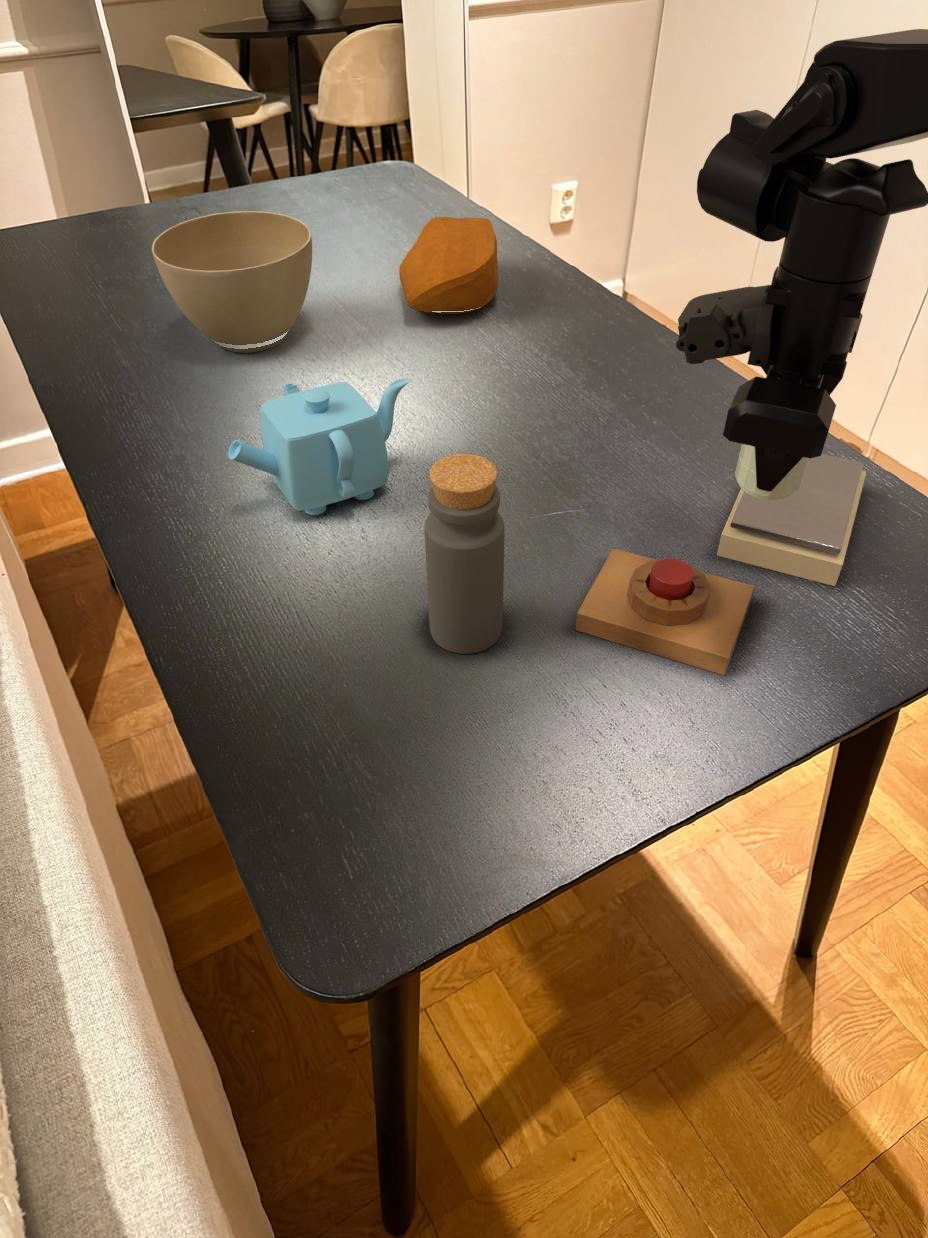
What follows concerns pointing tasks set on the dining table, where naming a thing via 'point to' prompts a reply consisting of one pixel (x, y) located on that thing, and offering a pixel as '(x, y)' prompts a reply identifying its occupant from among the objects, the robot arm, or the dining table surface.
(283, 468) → the teapot
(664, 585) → the tare button
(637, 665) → the dining table surface
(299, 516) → the dining table surface
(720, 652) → the block
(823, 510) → the pan
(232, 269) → the deep tan bowl
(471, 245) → the bread
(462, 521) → the bottle
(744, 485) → the mint green cup
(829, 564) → the scale
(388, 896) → the dining table surface
